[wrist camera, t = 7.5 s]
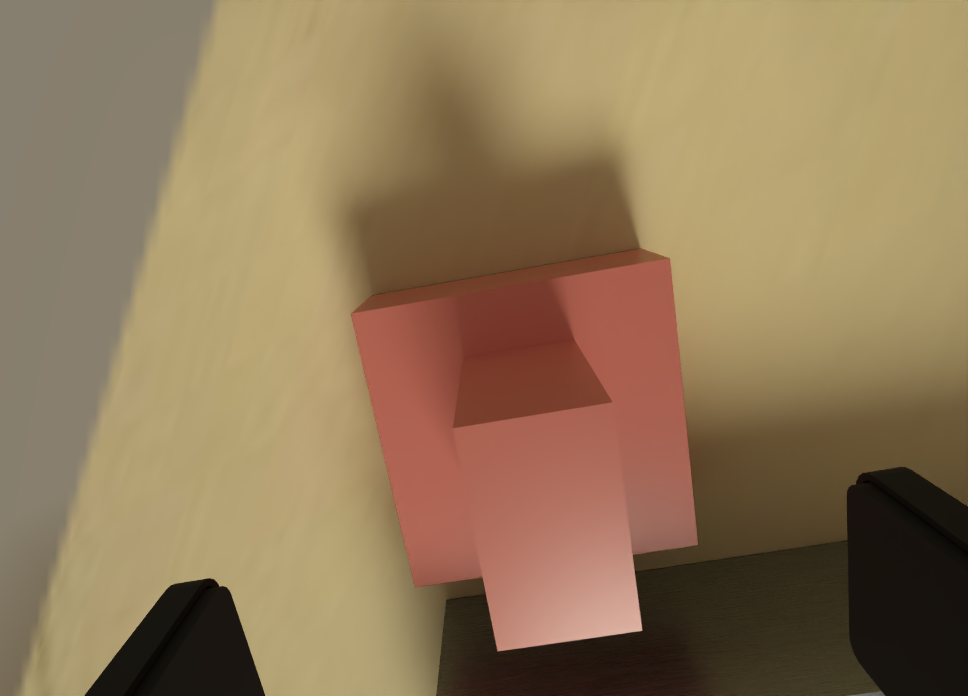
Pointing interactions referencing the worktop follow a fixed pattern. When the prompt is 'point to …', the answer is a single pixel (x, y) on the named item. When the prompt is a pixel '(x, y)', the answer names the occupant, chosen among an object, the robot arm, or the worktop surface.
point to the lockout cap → (535, 437)
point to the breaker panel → (684, 637)
